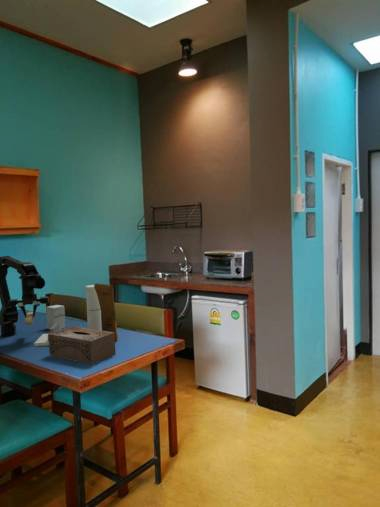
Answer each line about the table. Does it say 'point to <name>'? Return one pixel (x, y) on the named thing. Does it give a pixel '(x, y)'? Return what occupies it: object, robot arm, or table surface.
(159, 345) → the table surface
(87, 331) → the tissue box cover
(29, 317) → the oak bar
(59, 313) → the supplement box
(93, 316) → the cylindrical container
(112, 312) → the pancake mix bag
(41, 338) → the fulcrum stand
